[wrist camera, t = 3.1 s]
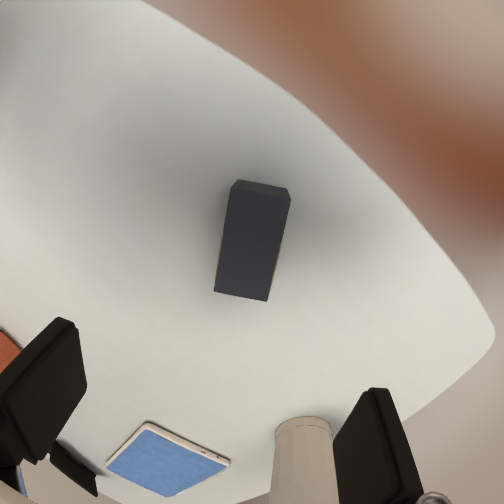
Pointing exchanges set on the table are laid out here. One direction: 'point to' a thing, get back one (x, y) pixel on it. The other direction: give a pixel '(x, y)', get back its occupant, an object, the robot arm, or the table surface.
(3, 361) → the bowl
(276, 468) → the cup
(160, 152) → the table surface
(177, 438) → the tablet
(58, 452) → the black piece
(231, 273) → the eraser
